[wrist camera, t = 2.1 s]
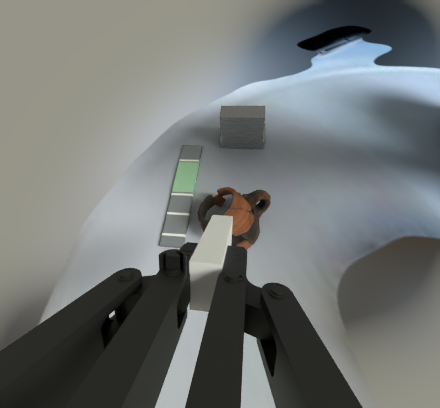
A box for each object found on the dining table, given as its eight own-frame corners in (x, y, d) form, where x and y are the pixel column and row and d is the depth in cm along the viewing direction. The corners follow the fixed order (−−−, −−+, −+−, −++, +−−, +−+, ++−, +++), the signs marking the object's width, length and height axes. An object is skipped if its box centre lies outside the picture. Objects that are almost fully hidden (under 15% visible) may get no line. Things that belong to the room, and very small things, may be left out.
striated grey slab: (264, 148, 46) (267, 117, 39) (220, 148, 47) (216, 117, 40) (264, 130, 48) (268, 98, 41) (223, 130, 49) (219, 98, 42)
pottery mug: (229, 266, 36) (201, 240, 31) (212, 231, 44) (187, 205, 39) (290, 222, 35) (271, 188, 30) (262, 194, 43) (243, 163, 38)
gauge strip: (183, 248, 38) (182, 246, 37) (160, 246, 38) (159, 245, 38) (202, 147, 48) (201, 145, 47) (183, 147, 48) (182, 145, 48)
